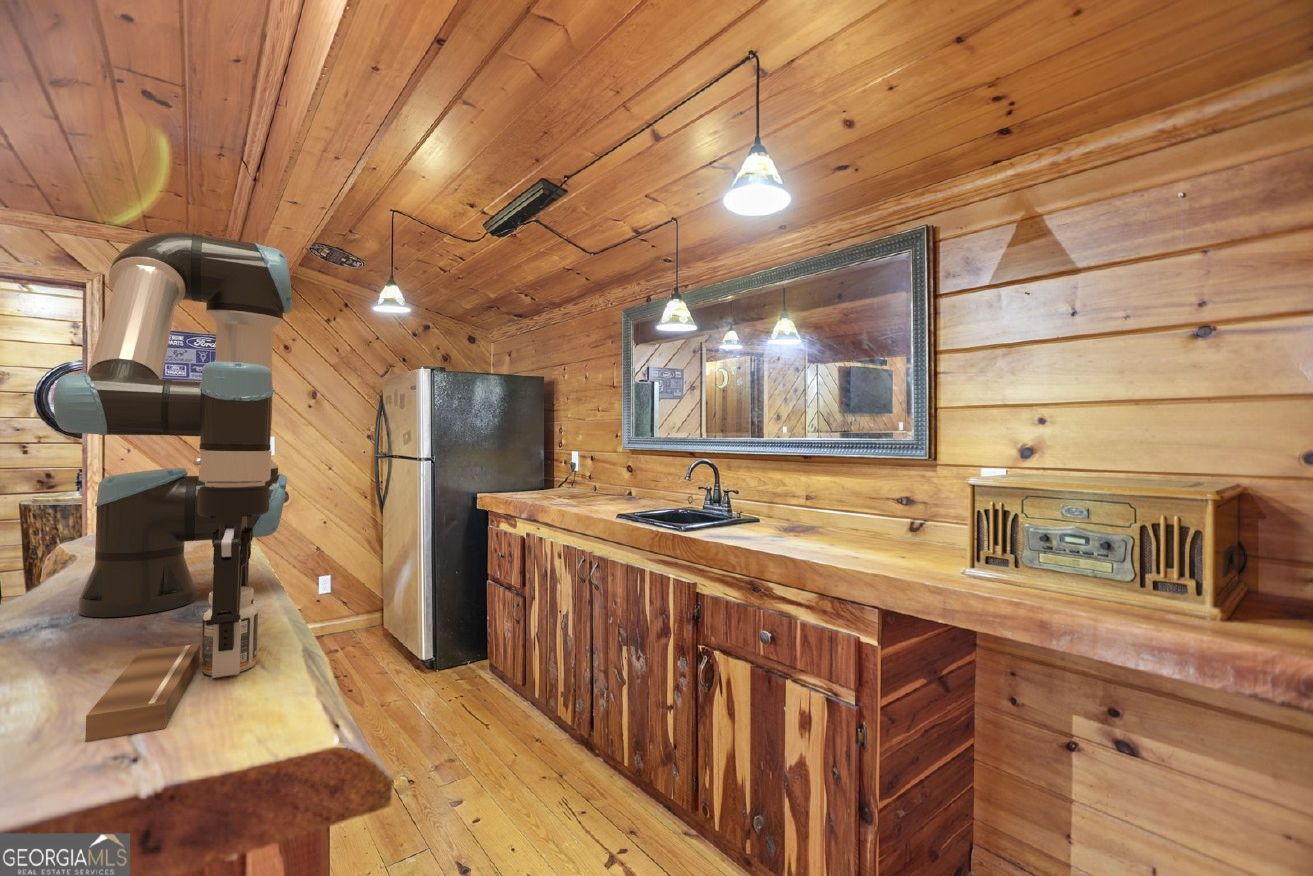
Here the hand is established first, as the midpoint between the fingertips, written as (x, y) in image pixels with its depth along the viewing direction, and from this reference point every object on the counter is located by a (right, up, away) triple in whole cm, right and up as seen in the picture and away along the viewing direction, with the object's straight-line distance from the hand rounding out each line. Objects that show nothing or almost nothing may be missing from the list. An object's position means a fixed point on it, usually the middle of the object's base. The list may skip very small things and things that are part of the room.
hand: (229, 665), depth 76 cm
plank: (-3, 0, -8) cm, 9 cm away
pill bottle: (0, -1, 0) cm, 1 cm away
